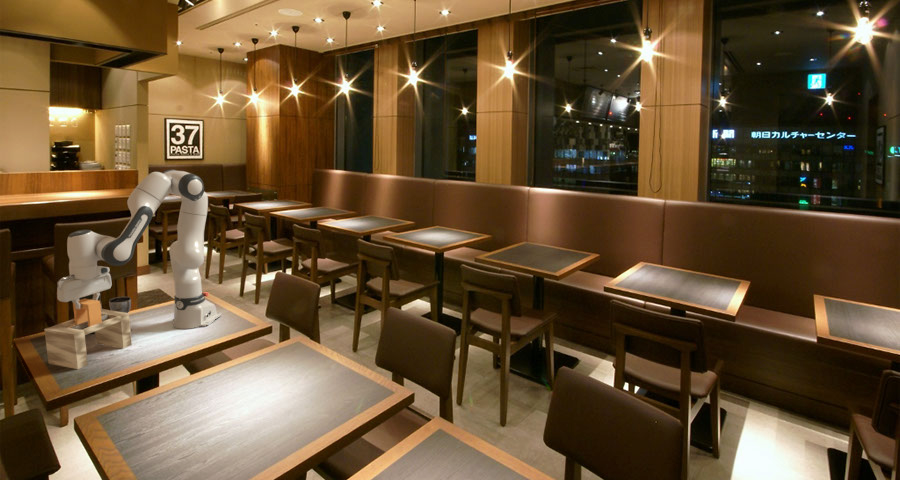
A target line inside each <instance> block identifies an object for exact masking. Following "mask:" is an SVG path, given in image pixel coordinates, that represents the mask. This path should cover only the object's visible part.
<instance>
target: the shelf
mask: <svg viewBox="0 0 900 480" xmlns="http://www.w3.org/2000/svg"><path fill="white" fill-rule="evenodd" d="M101 317H102V322H100V323H98V324H95V325H92V326H90V327H87V326H88V321H86V322H83V323H81V324H78V325H75V319H74V318H72V319H70V320H66V321H64V322H61V323H58V324H55V325H53V326H49V327H46V328H44V337H45V338H44V339H45V345H46V355H47V361H48V364H49V365H54V366H58V367H64V368H70V369H74V370H79V369H81V368H84V367H86V366H88V365H89V363H88V355H87V346H86V335H87V334H89V333H92V332H94V331H95V334H94V335H95V344H96V345H101V346H107V347H112V348H119V349H125V348H128V347H130V346H132V344H133V343H132V334H131V333H132V331H130V329H131V321H130V313H129V312H128V313H124V312H118V311H111V309H110V310H109V309H104V308H102V309H101ZM85 327H87V328H85ZM82 328H84V329H82Z"/></svg>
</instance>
